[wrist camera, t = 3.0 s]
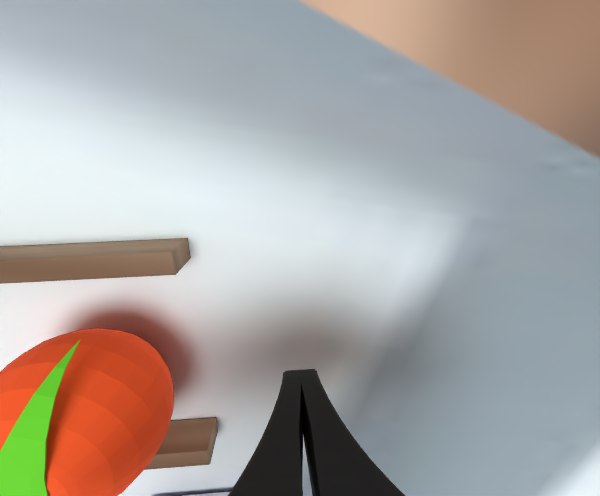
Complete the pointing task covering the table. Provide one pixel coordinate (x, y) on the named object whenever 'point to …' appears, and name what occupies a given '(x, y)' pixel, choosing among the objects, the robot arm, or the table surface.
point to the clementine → (82, 414)
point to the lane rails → (114, 264)
